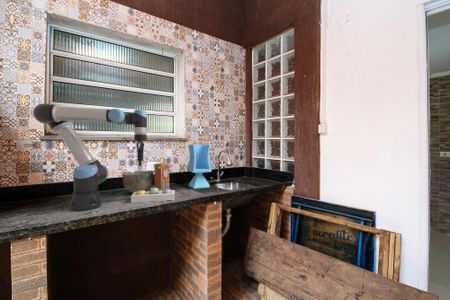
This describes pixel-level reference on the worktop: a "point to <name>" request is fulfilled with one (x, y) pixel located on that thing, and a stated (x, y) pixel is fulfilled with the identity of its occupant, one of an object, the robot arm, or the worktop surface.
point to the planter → (199, 165)
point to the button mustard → (141, 192)
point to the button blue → (166, 191)
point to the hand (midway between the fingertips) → (140, 170)
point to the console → (152, 197)
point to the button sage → (153, 190)
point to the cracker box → (162, 176)
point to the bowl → (137, 180)
